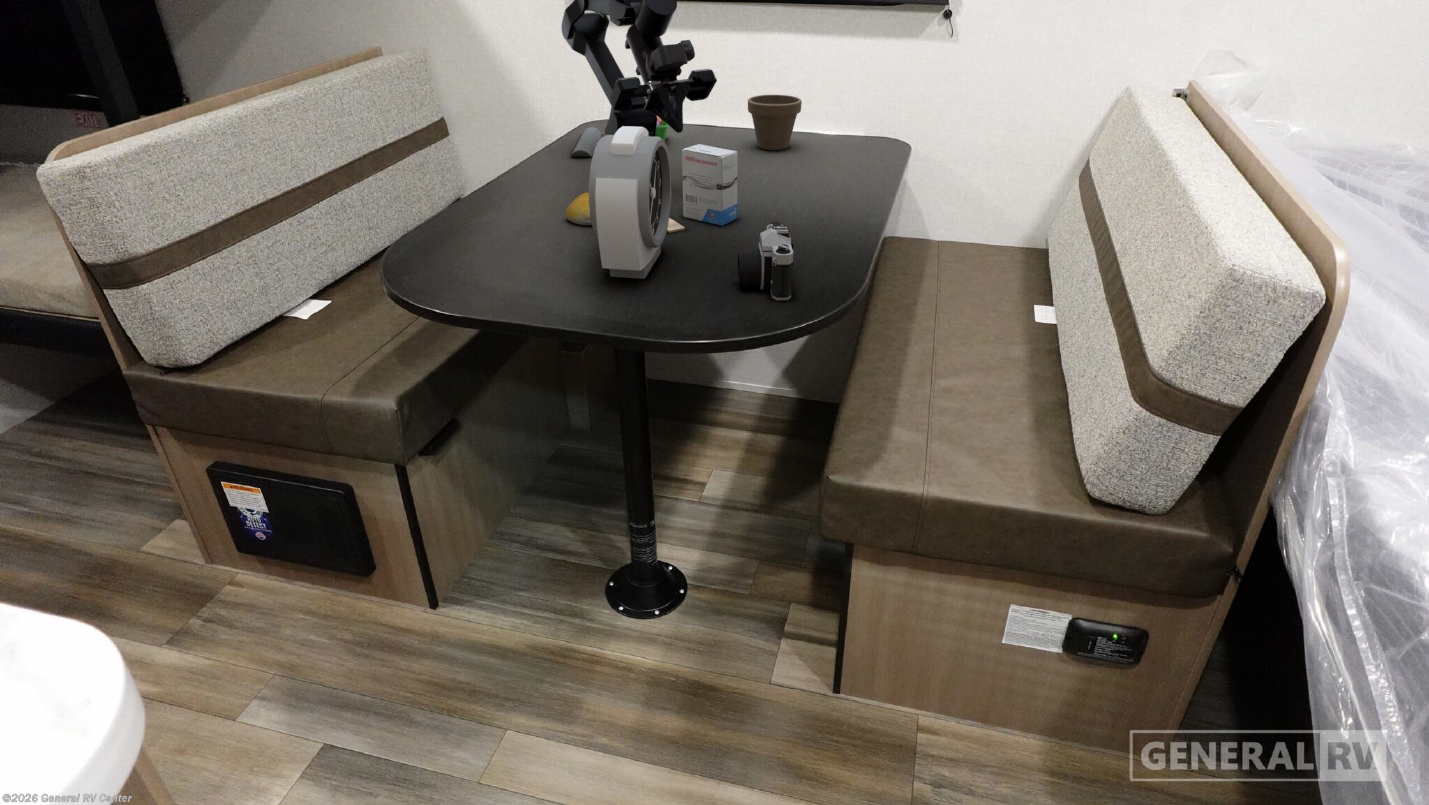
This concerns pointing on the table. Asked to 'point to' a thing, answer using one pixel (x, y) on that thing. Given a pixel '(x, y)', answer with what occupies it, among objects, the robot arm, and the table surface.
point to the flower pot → (774, 119)
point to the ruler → (674, 226)
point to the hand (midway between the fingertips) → (680, 131)
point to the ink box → (709, 184)
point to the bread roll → (579, 210)
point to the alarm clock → (630, 200)
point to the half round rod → (587, 143)
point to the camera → (769, 262)
